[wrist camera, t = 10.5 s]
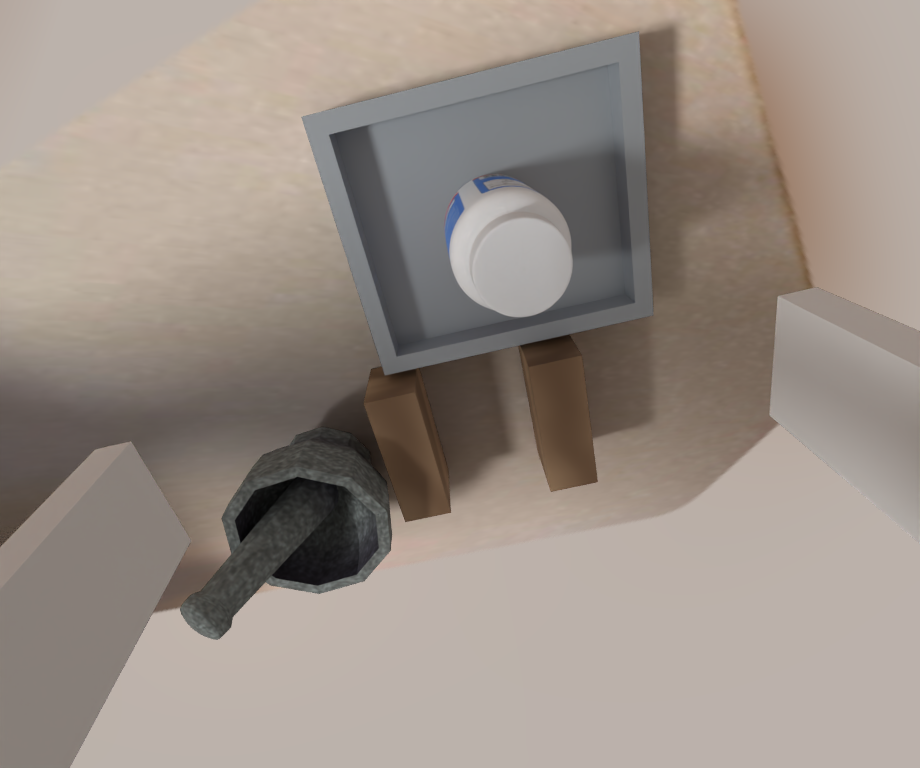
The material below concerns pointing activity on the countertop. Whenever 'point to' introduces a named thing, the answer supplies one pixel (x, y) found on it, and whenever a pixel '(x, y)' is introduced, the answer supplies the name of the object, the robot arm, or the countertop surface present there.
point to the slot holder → (419, 448)
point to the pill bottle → (508, 246)
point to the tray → (483, 153)
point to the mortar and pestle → (298, 526)
